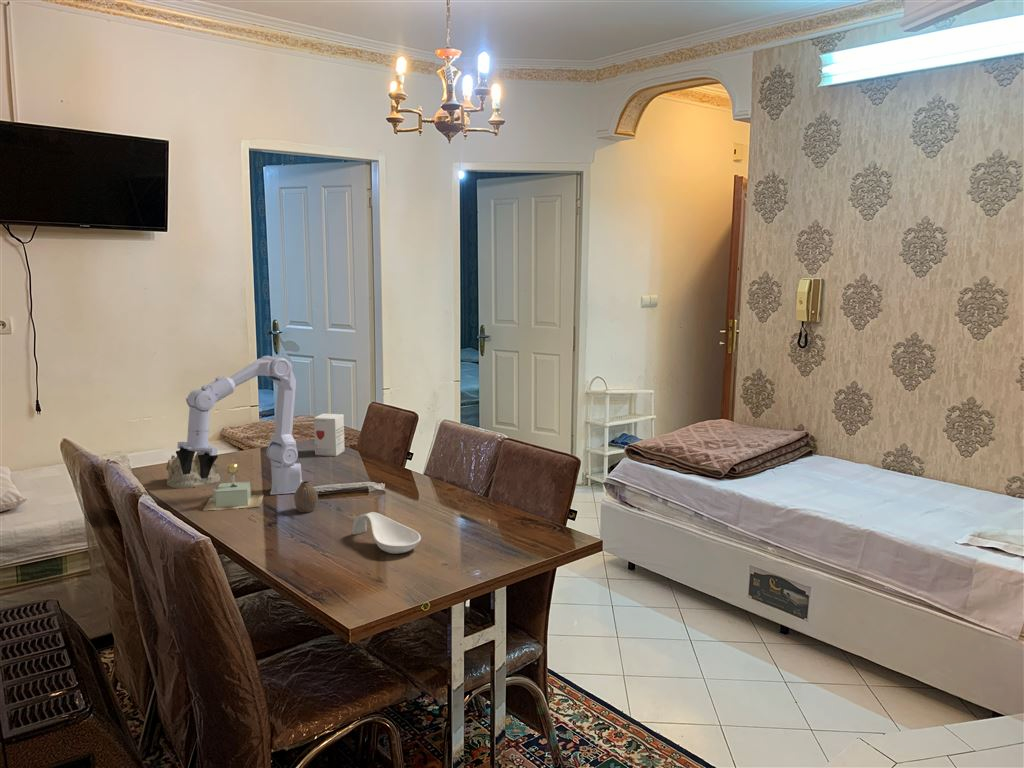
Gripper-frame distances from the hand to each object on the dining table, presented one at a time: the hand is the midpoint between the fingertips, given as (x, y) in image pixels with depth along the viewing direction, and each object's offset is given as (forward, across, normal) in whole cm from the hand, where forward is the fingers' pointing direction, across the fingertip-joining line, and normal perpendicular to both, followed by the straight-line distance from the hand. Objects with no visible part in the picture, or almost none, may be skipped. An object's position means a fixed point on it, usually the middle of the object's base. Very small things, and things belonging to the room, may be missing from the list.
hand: (195, 476), depth 220 cm
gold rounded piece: (+5, +4, +11) cm, 13 cm away
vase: (+8, +28, +17) cm, 34 cm away
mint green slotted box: (+9, +4, +12) cm, 16 cm away
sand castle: (+9, -27, +23) cm, 37 cm away
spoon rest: (+8, +66, +5) cm, 66 cm away
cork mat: (+9, +4, +12) cm, 16 cm away
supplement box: (+2, -12, +74) cm, 75 cm away
